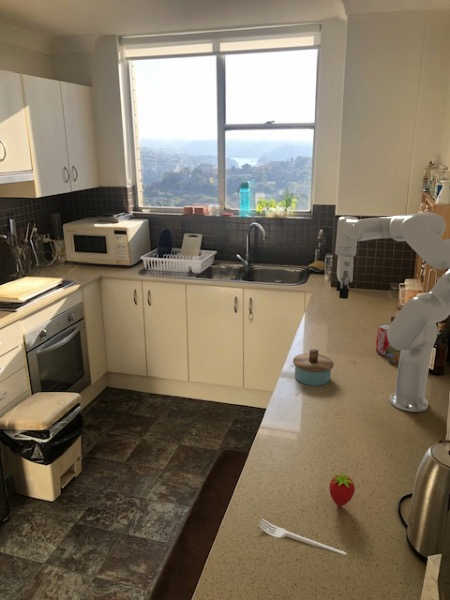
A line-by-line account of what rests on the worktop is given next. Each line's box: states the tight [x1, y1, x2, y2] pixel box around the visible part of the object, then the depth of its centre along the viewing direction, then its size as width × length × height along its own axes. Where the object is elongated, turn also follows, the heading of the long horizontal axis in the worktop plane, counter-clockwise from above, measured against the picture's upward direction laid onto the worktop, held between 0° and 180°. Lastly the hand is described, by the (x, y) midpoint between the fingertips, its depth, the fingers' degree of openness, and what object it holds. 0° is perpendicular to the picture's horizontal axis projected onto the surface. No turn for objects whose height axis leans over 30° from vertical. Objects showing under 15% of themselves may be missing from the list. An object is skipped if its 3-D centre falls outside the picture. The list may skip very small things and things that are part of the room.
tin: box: [384, 345, 401, 365], centre depth 194 cm, size 15×3×8 cm, turn 62°
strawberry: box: [328, 472, 355, 508], centre depth 116 cm, size 6×8×10 cm
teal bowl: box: [294, 365, 332, 387], centre depth 182 cm, size 13×13×6 cm
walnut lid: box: [292, 348, 335, 372], centre depth 180 cm, size 15×15×6 cm
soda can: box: [375, 323, 390, 356], centre depth 204 cm, size 7×7×12 cm
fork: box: [257, 517, 347, 556], centre depth 107 cm, size 3×20×2 cm, turn 67°
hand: (341, 294), depth 183 cm, fingers open, 9 cm apart
